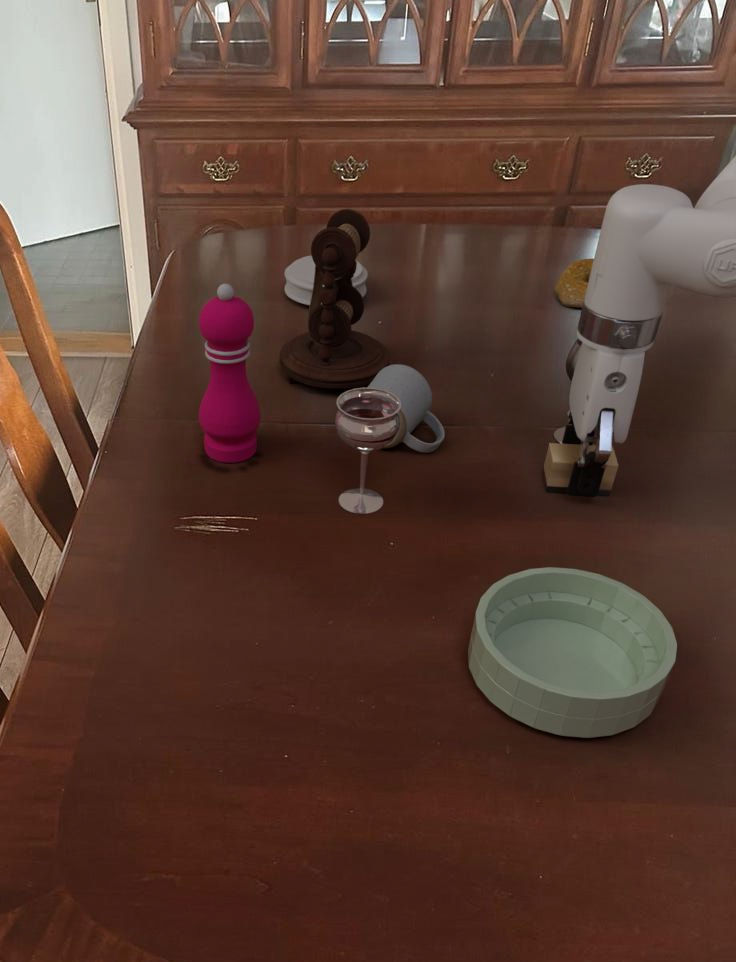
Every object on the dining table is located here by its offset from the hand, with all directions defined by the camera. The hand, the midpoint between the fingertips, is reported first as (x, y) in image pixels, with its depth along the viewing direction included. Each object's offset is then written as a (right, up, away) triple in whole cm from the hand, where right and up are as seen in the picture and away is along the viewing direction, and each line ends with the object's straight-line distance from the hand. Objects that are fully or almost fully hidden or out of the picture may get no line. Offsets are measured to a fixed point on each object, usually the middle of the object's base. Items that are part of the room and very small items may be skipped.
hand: (577, 474), depth 104 cm
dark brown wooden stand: (-26, +18, +21) cm, 38 cm away
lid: (-25, +35, +40) cm, 58 cm away
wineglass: (-25, -3, -1) cm, 25 cm away
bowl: (-9, -22, -21) cm, 31 cm away
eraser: (0, -1, +1) cm, 1 cm away
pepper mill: (-39, +4, +7) cm, 40 cm away
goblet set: (+7, +13, +16) cm, 21 cm away
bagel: (+15, +34, +38) cm, 53 cm away
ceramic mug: (-19, +6, +9) cm, 22 cm away
